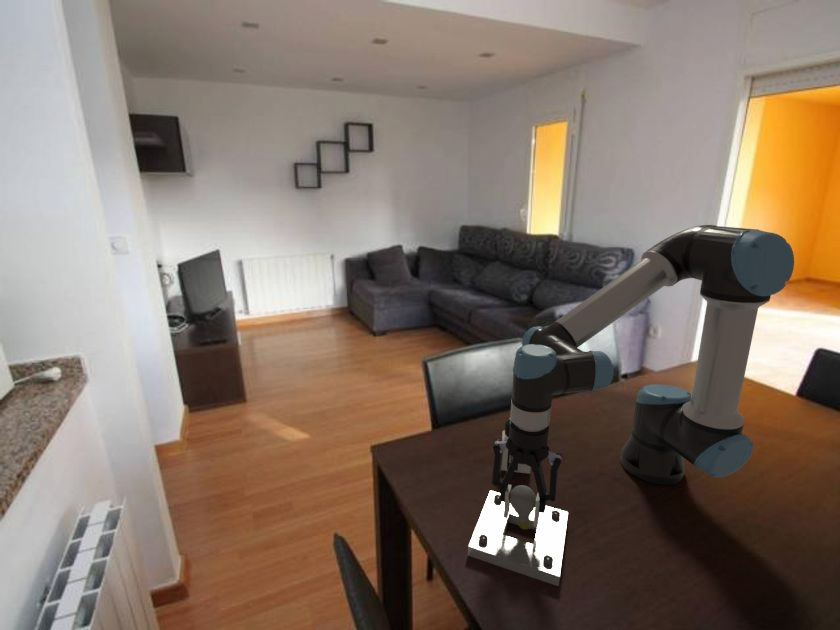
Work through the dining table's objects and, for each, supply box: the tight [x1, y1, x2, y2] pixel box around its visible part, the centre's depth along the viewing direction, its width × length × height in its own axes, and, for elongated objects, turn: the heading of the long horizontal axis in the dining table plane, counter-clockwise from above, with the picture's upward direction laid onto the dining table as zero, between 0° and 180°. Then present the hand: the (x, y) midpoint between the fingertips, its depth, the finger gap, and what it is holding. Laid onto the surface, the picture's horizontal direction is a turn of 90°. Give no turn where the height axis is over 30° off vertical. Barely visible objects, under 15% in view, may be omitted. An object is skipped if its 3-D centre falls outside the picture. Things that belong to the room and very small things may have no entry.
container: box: [501, 418, 532, 474], centre depth 115 cm, size 8×8×13 cm
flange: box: [467, 490, 569, 587], centre depth 92 cm, size 18×18×3 cm
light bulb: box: [510, 484, 537, 530], centre depth 90 cm, size 5×5×10 cm
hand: (521, 517), depth 91 cm, fingers closed on light bulb, 5 cm apart
